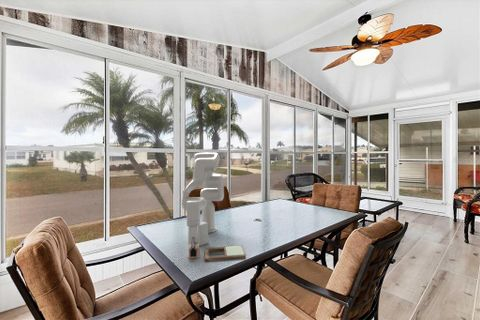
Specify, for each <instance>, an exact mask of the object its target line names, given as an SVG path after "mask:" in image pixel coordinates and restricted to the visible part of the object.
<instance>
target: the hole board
mask: <svg viewBox="0 0 480 320" xmlns="http://www.w3.org/2000/svg"><path fill="white" fill-rule="evenodd" d="M246 258H247V257H246V252H245V250H244V247H243V245H225V246H213V247H205V248H204V262H205V263H206V262H215V261H216V262H217V261H227V260H228V261H229V260H243V259H246Z"/></svg>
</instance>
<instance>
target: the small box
mask: <svg viewBox="0 0 480 320" xmlns="http://www.w3.org/2000/svg"><path fill="white" fill-rule="evenodd" d="M197 244H199V247H200V246H201V247H202V246H204V245H206V244H209V233H208V223H206V222H203V221H202V220H200V225H199V226H198V242H197Z"/></svg>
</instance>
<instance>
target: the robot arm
mask: <svg viewBox="0 0 480 320" xmlns="http://www.w3.org/2000/svg"><path fill="white" fill-rule="evenodd" d="M220 159H221V157H220V154H219V153H217V152H197V153H195V154H194V165H193V171H192V179H191V181H190V182H189V183H188V185H186V187H185V189H184V190H183V193H182V198H181V207H182V209H183V210H185V211H186V226H187V227H188V232H187V233H188V235H187V236H188V237H187V239H188V241H187V242H188V243H187V245H188V246H189V245H190V244H191V249H190V257H196V244H197V242H198V226H199V225H200V221H203V222H206V223H208V234H212V233H215V232H217V230H218V228H217V226H216V217H215V216H216V215H215V213H216V212H215V211H216V210H215V205H214V203H213V202H221V201H223V200H224V198H225V188H224V187H225V186H224V178H223V175H222V174H220V173H213V172H215V171H216V170H218V167H219V164H220V161H221V160H220ZM201 186H202V187H204V188H202V189H201V190H200V193H199V194H200V196H199V197H196V196H195V197H194V196H192V197H191V196H189V195H190V194H191V192H192V191H194V189H196V188H198V187H201ZM194 245H195V246H194Z"/></svg>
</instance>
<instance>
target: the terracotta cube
mask: <svg viewBox="0 0 480 320" xmlns="http://www.w3.org/2000/svg"><path fill="white" fill-rule="evenodd" d="M194 246H195V245H194ZM190 249H191V244H190V245H188V259H197V258H198V259H199V258H200V245H199V244H196V257H190Z"/></svg>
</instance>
